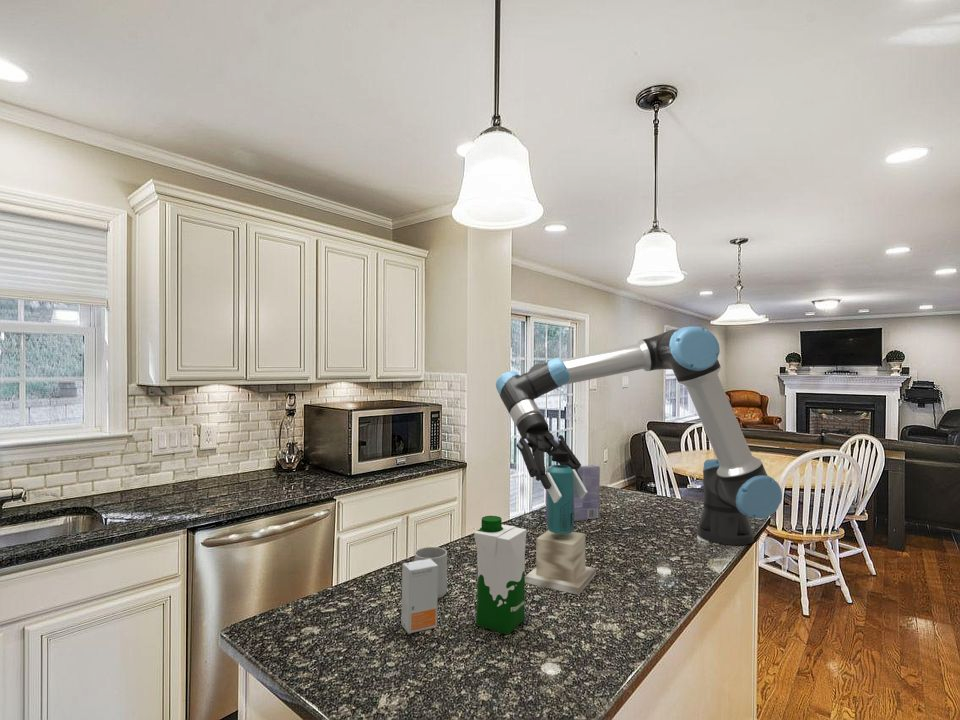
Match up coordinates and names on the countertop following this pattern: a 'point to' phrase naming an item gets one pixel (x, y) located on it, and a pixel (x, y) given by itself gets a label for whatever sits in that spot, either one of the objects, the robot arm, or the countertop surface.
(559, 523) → the beverage bottle
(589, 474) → the cake pan box
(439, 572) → the cup
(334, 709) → the countertop surface
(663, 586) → the countertop surface
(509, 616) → the milk carton
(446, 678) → the countertop surface
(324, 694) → the countertop surface
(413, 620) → the skincare box
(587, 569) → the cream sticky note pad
